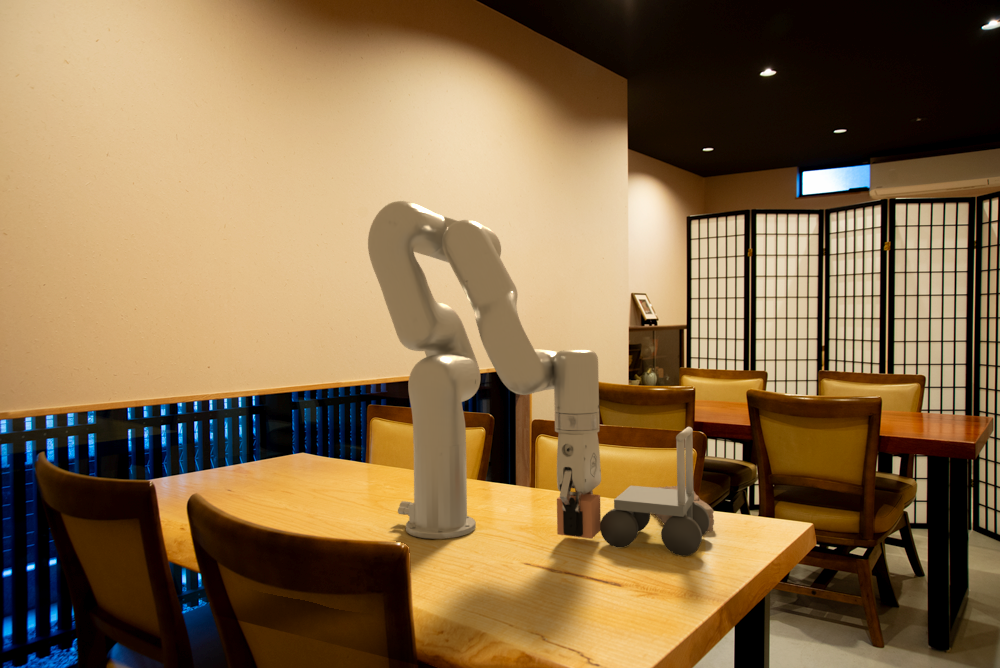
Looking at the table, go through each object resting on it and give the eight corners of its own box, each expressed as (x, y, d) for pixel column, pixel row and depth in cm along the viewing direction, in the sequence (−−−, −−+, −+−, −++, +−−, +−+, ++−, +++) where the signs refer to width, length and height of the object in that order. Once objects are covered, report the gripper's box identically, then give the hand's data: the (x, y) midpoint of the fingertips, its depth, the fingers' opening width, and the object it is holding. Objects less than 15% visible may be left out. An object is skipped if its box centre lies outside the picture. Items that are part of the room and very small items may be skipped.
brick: (716, 533, 111) (715, 506, 111) (668, 533, 111) (668, 506, 111) (689, 508, 127) (689, 485, 127) (648, 509, 128) (647, 485, 128)
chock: (557, 534, 105) (556, 498, 106) (567, 526, 110) (566, 491, 110) (591, 538, 103) (591, 501, 103) (600, 530, 107) (600, 495, 107)
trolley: (599, 545, 104) (598, 430, 104) (617, 527, 114) (615, 422, 114) (700, 559, 97) (698, 436, 97) (710, 538, 107) (708, 427, 107)
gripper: (582, 430, 97) (584, 548, 97) (612, 417, 113) (614, 519, 112) (537, 428, 101) (539, 542, 100) (572, 416, 116) (574, 515, 116)
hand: (578, 529), depth 106 cm, fingers closed on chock, 4 cm apart
